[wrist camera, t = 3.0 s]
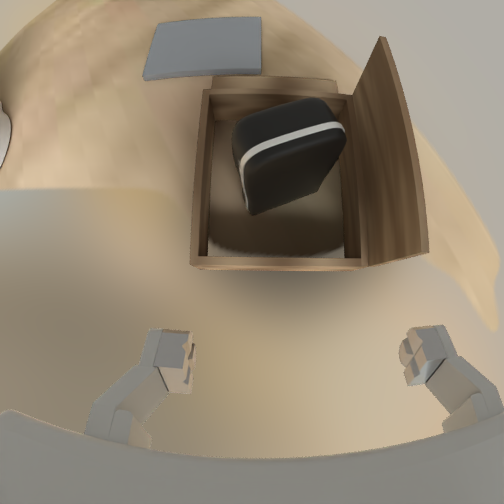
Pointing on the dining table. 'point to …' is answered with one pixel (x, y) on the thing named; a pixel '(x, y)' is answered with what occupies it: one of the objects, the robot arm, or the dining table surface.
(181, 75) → the mat
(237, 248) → the dining table surface
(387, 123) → the wooden box
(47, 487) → the robot arm
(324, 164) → the battery charger
